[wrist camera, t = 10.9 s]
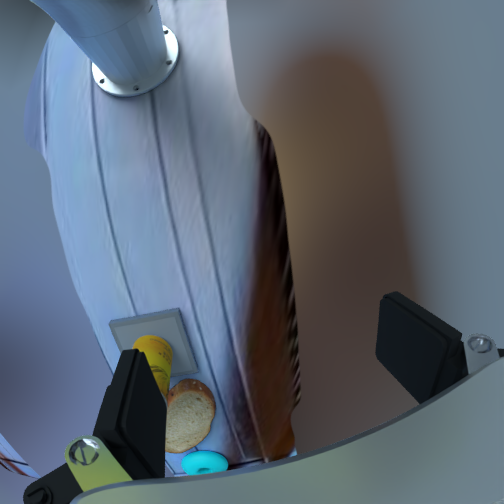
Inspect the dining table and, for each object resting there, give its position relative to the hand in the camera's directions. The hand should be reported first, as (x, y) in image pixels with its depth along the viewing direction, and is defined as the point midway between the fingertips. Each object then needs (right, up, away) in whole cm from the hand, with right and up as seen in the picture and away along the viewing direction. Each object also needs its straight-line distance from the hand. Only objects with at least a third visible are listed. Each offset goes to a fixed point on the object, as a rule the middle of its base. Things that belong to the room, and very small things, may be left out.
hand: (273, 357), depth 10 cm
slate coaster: (-16, -10, +30) cm, 35 cm away
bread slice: (-15, -27, +34) cm, 46 cm away
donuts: (-11, -41, +38) cm, 57 cm away
